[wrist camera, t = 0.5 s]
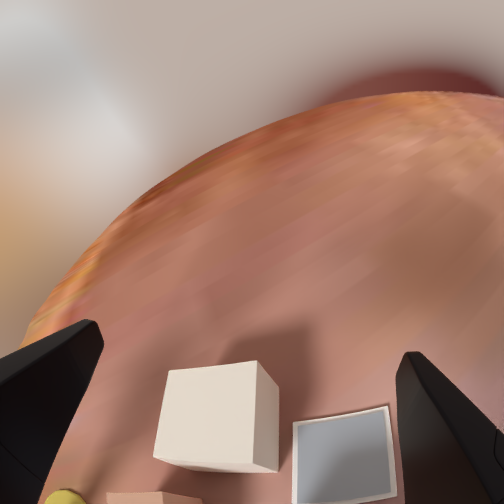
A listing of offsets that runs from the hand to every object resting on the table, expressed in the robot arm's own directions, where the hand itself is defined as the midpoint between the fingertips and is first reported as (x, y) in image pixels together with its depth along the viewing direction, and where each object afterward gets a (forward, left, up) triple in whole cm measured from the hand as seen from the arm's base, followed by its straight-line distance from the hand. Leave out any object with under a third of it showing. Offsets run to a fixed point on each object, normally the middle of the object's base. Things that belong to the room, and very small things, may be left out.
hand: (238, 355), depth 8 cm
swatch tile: (-1, -1, -15) cm, 15 cm away
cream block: (+2, +7, -15) cm, 17 cm away
